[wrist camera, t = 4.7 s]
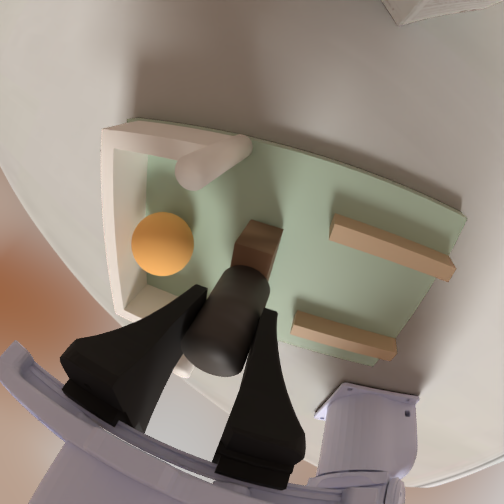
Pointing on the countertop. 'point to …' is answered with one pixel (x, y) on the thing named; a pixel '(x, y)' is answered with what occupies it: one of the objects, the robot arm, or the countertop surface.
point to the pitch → (293, 237)
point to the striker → (234, 304)
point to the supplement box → (431, 8)
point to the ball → (162, 244)
